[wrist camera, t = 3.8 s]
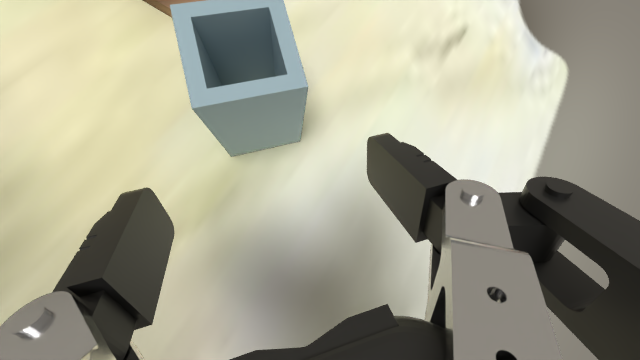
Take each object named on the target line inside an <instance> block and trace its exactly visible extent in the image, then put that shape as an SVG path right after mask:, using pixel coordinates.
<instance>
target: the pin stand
mask: <svg viewBox="0 0 640 360" xmlns="http://www.w3.org/2000/svg"><path fill="white" fill-rule="evenodd" d="M143 1H145V2H147V3H148V4H150V5H152V6H154V7H155V8H157V9H159V10H160V11H162V12H164V13H165V14H167V15H169V16H170V17H172V13H171V9H170V5H172V4H180V3H189V2H197V1H205V0H143Z"/></svg>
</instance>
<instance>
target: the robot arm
mask: <svg viewBox="0 0 640 360" xmlns="http://www.w3.org/2000/svg"><path fill="white" fill-rule="evenodd" d="M367 175H368V179H369V181H370V183H371V185H372V186H373V188H374V189H375V190H376V192H377V193H378V194H379V195H380V197H381V198H382V199H383V201H384V202H385V203H386V205H387V206H388V207H389V208H390V210H391V211H392V212H393V214H394V215H395V216H396V218H397V219H398V220H399V221H400V223H401V224H402V225H403V227H404V228H405V229H406V231H407V232H408V233H409V234H410V236H411V237H412V238H413V240H414V241H415V242H416V243H417V242H420V241H423V240H426V239H428V240H429V241H430V242H431V243H432V245H431V249H430V266H429V285H428V300H427V307H426V312H425V320H422V319H418V318H413V317H405V316H393V314H392V312H391V310H390V308H389V306H388V304H386V305H383V306H380V307H378V308H375V309H372V310H369V311H366V312H363V313H361V314H358V315H355V316H352V317H349V318H347V319H345V320H344V321H342V322H341V323H340V324H338V325H337V326H335V327H334V328H333V329H331V330H330V331H328V332H327V333H325V334H324V335H323V336H321V337H320V338H318V339H317V340H316V341H314V342H313V343H311V344H310V345H308V346H306V347H302V348H287V349H270V350H256V351H253V352H250V353H247V354H244V355H241V356H239V357H236V358H233V359H230V360H563V358H562V355H561V352H560V349H559V345H558V342H557V339H556V336H555V332H554V329H553V326H552V323H551V319H550V316H549V313H548V310H547V307H548V308H549V309H550V310H551V311H552V312H553V313H554V314H555V315H556V316H557V317H558V318H559V319H560V320H561V321H562V322H563V323H564V324H565V325H566V327H567V328H568V329H569V330H570V331H571V332H572V333H574V335H575V336H576V337H577V338H578V339H579V340H580V341H581V342H582V343H583V344H584V345H585V346H586V347H587V348H588V349H589V350H590V351H591V352H592V353H593V354H594V355H595V356H596V357H597V359H598V360H640V221H639V220H637V219H635V218H634V217H632V216H630V215H628V214H627V213H625V212H623V211H621V210H619V209H618V208H616V207H614V206H612V205H611V204H609V203H607V202H605V201H604V200H602V199H600V198H598V197H597V196H595V195H593V194H591V193H589V192H588V191H586V190H584V189H582V188H580V187H579V186H577V185H575V184H573V183H570V182H568V181H565V180H562V179H558V178H552V177H535V178H532V179H530V180H529V181H528V182H527V183H526V185H525V187H524V189H523V191H522V192H510V193H498V192H497V191H496V190H494V189H493V188H492V187H490V186H488V185H486V184H484V183H481V182H478V181H474V180H457V179H456V178H454V177H453V176H452V175H450V174H449V173H448V172H447V171H445V170H444V169H443V168H441V167H440V166H439V165H438V164H436V163H435V162H434V161H431V159H430V158H429V157H427V156H426V155H424V153H422V152H421V151H420V150H418V149H417V148H416V147H414V146H412V145H409V144H407V143H404V142H401V143H400V142H399V141H398V140H397V139H395V138H394V137H393V136H392V135H391V134H389V133H385V134H381V135H376V136H372V137H369V138H368V142H367ZM86 238H87V240H84V242H83V244H82V245H81V247H80V248H79V249H80V251H78V252H77V253H76V255H75V256H74V258H73V260H72V261H71V263H70V264H69V266H68V268H67V269H66V271H65V273H64V274H63V276H62V277H61V279H60V281H59V282H58V284H57V285H56V287H55V289H54V290H53V292H52V293H49V294H46V295H43V296H41V297H39V298H37V299H35V300H33V301H31V302H30V303H28V304H26V305H25V306H23V307H22V308H20V309H19V310H18V311H17V312H15V313H14V314H13V315H12V316H10V317H9V318H8V319H7V320H6V321H5V322H4V323H3V324H2V325H1V326H0V360H145V359H144V357H143V356H142V354H141V353H140V351H139V350H138V348H137V347H136V345H135V344H134V343H133V342H131V338H132V334H133V331H134V330H136V329H139V328H143V327H146V326H149V325H152V323H153V319H154V315H155V311H156V307H157V303H158V299H159V295H160V291H161V287H162V283H163V279H164V275H165V271H166V267H167V263H168V258H169V254H170V250H171V246H172V242H173V238H174V226H173V223H172V221H171V219H170V217H169V215H168V214H167V212H166V211H165V209H164V208H163V206H162V204H161V203H160V201H159V200H158V198H157V196H156V195H155V193H154V192H153V191H152V190H151V189H150V188H143V189H138V190H134V191H130V192H125V193H122V194H121V195H120V196H119V198H118V200H117V201H116V203H115V205H114V206H113V208H112V210H111V211H109V212H107V213H106V214H105V215H104V216H103V217H102V218H101V219H100V220H99V221H98V222H96V223H95V224H94V226H93V227H92V229H91V231H90V232H89V234H88V236H87V237H86ZM564 240H567V241H568V242H569V243H571V244H572V245H573V246H575V247H576V248H577V249H579V250H580V251H581V252H582V253H584V254H585V255H586V256H588V257H589V258H590V259H592V260H593V261H594V262H596V263H597V264H598V265H599V266H601V267H602V268H603V269H604V270H605V272H606V274H607V275H608V278H609V286H608V287H607V289H604V288H603V287H601V286H600V285H599V284H598V283H596V282H595V281H594V280H593V279H592V278H590V277H589V276H588V275H586V274H585V273H584V272H583V271H582V270H580V269H579V268H578V267H577V266H576V265H574V264H573V263H572V262H571V261H569V260H568V259H567V258H566V257H564V256H563V255H562V254H561V253H559V252H558V251H557V250H558V249H559V247H560V246H561V244H562V243H563V242H564Z"/></svg>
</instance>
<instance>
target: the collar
mask: <svg viewBox="0 0 640 360" xmlns="http://www.w3.org/2000/svg"><path fill="white" fill-rule="evenodd" d="M170 9H171V13H172V18H173V23H174V27H175V32H176V37H177V41H178V46H179V51H180V55H181V60H182V65H183V69H184V74H185V79H186V83H187V88H188V93H189V97H190V102H191V107H192V109H193V110H194V112H195V113H196V114H197V115H198V116H199V118H200V119H201V120H202V121H203V123H204V124H205V125H206V126H207V128H208V129H209V130H210V131H211V132H212V134H213V135H214V136H215V137H216V139H217V140H218V141H219V142H220V143H221V145H222V146H223V147H224V148H225V150H226V151H227V152H228V153H229V154H230V156H231V157H232V156H236V155H241V154H245V153H250V152H254V151H259V150H263V149H268V148H272V147H277V146H281V145H285V144H290V143H294V142H299V141H300V139H301V132H302V125H303V118H304V112H305V105H306V98H307V91H308V84H307V81H306V77H305V74H304V70H303V67H302V63H301V60H300V56H299V53H298V49H297V46H296V42H295V39H294V35H293V32H292V29H291V25H290V22H289V18H288V15H287V11H286V8H285V4H284V1H283V0H205V1H197V2H189V3H180V4H172V5H170Z"/></svg>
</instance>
